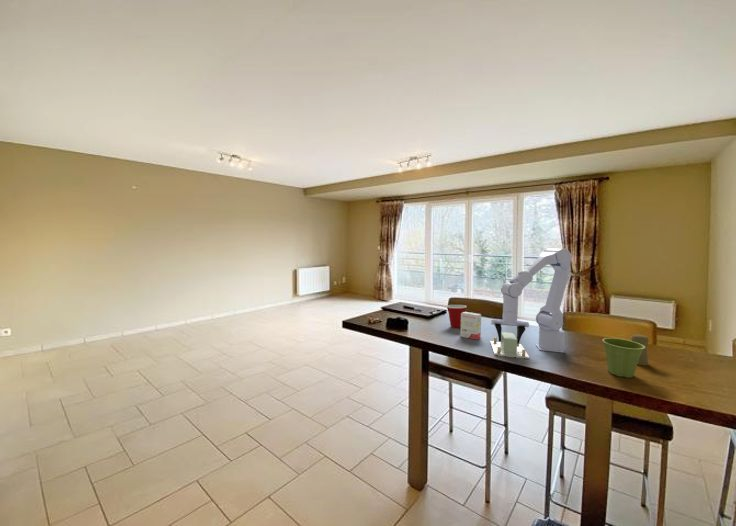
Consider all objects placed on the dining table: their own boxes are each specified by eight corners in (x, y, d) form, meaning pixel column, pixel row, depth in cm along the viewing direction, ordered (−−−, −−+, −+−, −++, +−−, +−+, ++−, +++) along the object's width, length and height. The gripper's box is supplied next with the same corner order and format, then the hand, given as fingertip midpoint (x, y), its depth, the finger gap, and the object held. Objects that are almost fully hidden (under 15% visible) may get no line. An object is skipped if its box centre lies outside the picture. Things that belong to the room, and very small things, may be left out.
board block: (512, 345, 140) (513, 333, 139) (516, 352, 130) (517, 339, 130) (500, 344, 141) (501, 332, 141) (503, 351, 131) (504, 338, 131)
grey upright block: (624, 360, 125) (626, 333, 124) (634, 359, 127) (636, 332, 126) (642, 366, 119) (644, 338, 118) (652, 364, 121) (654, 336, 121)
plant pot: (597, 373, 112) (599, 342, 111) (603, 364, 120) (605, 335, 120) (641, 384, 104) (643, 351, 103) (644, 374, 112) (646, 343, 111)
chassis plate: (521, 345, 141) (521, 339, 141) (529, 359, 125) (529, 351, 125) (490, 342, 145) (490, 336, 145) (494, 355, 129) (494, 348, 128)
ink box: (481, 337, 153) (482, 313, 152) (477, 340, 149) (478, 315, 148) (464, 334, 158) (464, 311, 157) (459, 336, 154) (460, 312, 154)
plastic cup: (453, 323, 179) (454, 302, 179) (470, 327, 171) (471, 305, 170) (441, 326, 172) (442, 304, 172) (458, 330, 164) (459, 308, 163)
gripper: (526, 310, 136) (525, 341, 137) (491, 307, 140) (489, 337, 141) (530, 313, 129) (528, 346, 130) (492, 311, 133) (491, 342, 134)
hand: (508, 342), depth 135 cm, fingers open, 6 cm apart
